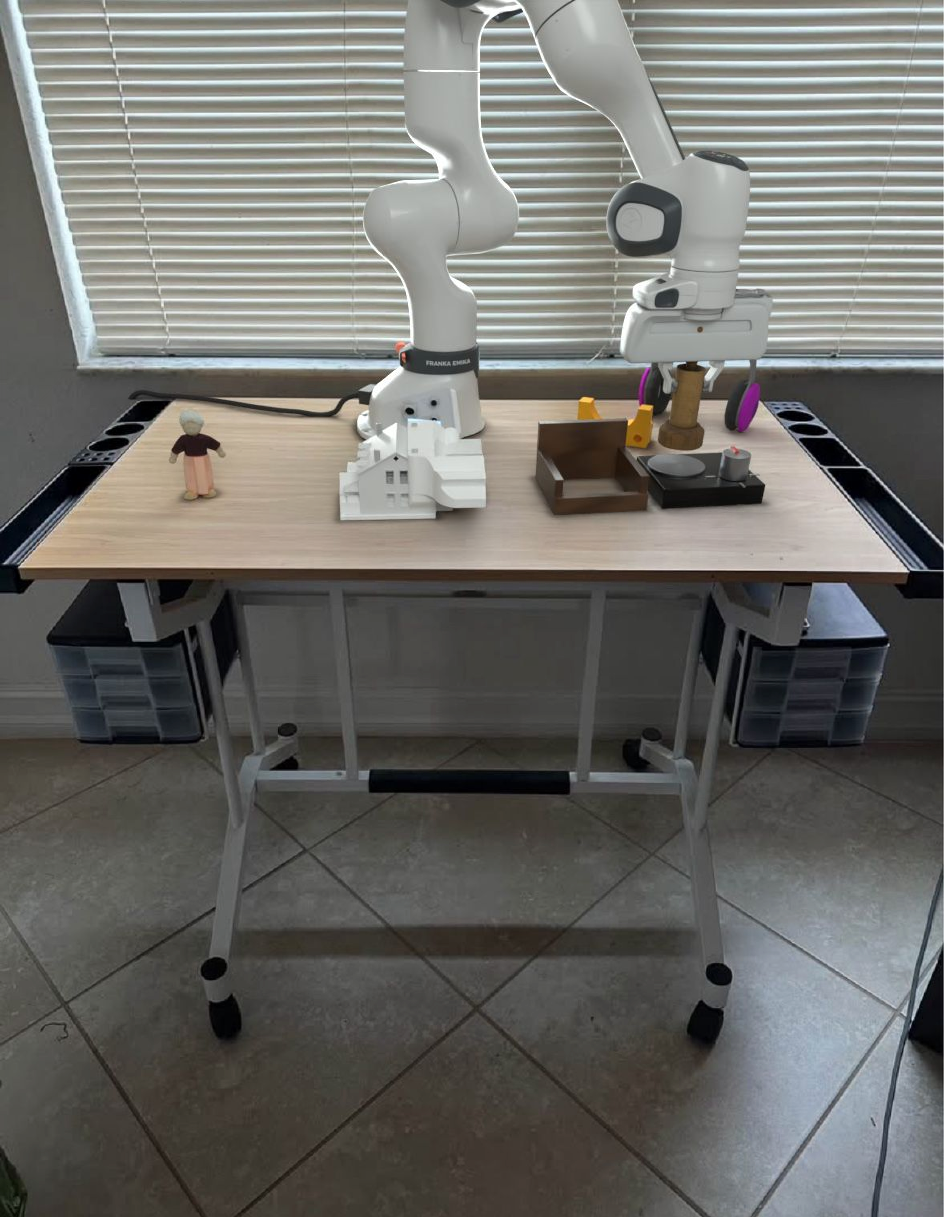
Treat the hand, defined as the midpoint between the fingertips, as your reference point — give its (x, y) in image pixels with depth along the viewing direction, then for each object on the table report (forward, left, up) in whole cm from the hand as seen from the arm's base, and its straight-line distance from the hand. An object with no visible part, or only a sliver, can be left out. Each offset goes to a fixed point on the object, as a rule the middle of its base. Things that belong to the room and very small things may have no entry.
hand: (686, 391), depth 120 cm
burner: (0, 0, -11) cm, 11 cm away
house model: (-40, -3, -14) cm, 42 cm away
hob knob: (+7, -4, -11) cm, 14 cm away
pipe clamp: (-4, +21, -14) cm, 25 cm away
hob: (+3, -1, -14) cm, 15 cm away
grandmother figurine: (-70, +5, -14) cm, 71 cm away
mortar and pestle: (0, 0, -8) cm, 8 cm away
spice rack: (-14, -1, -14) cm, 20 cm away
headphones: (+13, +28, -14) cm, 34 cm away
